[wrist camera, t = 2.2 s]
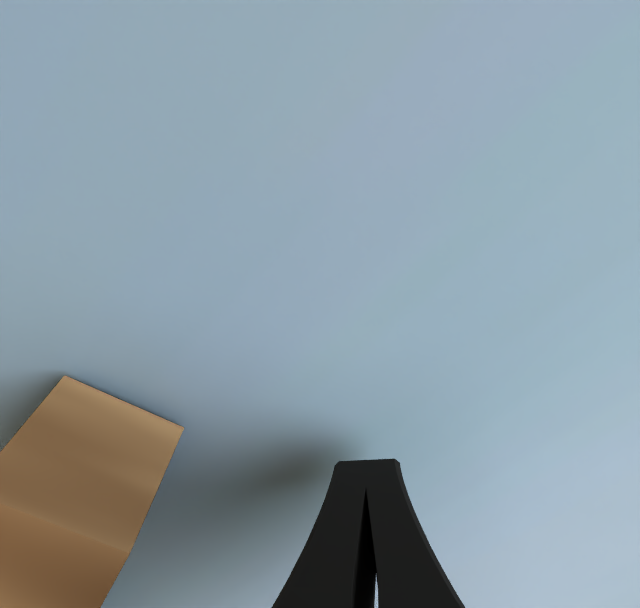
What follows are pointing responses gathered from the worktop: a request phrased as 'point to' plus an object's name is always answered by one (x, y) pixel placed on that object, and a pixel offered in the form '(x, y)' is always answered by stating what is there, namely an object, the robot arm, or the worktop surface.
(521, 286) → the worktop surface
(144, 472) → the hinged leg
